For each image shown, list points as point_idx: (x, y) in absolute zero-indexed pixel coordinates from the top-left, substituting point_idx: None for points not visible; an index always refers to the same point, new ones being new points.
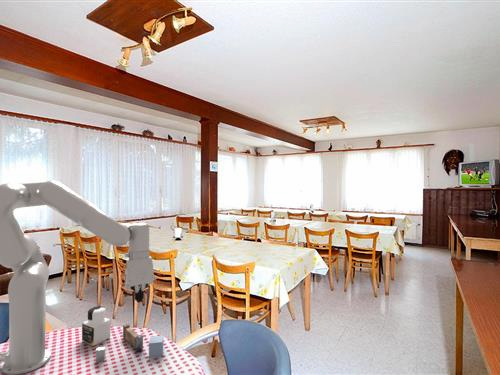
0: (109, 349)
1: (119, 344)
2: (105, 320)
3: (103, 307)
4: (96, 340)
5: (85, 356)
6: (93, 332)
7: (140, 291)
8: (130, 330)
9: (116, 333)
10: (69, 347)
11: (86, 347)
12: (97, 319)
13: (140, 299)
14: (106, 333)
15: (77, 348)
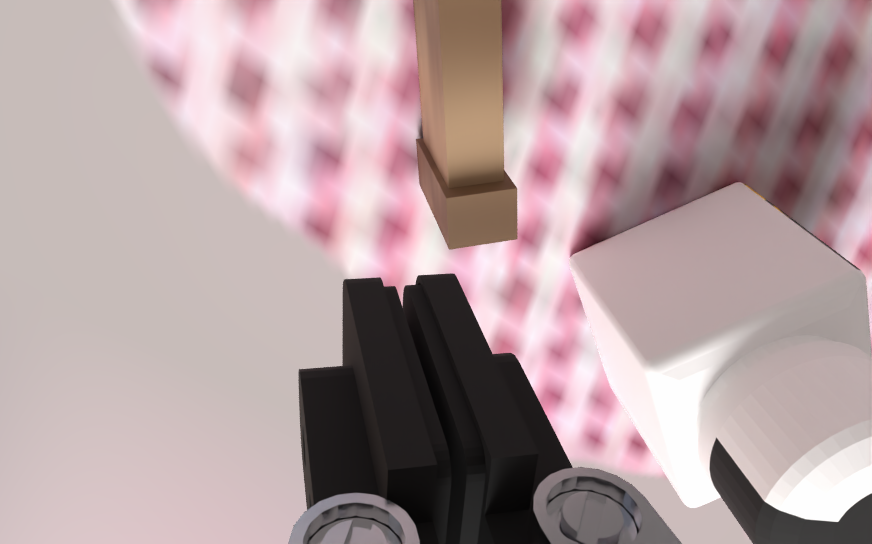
0: (664, 15)
1: (550, 57)
2: (709, 364)
3: (794, 522)
4: (734, 207)
5: (864, 28)
6: (824, 243)
7: (431, 525)
8: (471, 78)
9: (492, 303)
10: (866, 270)
11: (785, 192)
12: (844, 358)
13: (405, 318)
14: (637, 265)
15: (837, 218)
